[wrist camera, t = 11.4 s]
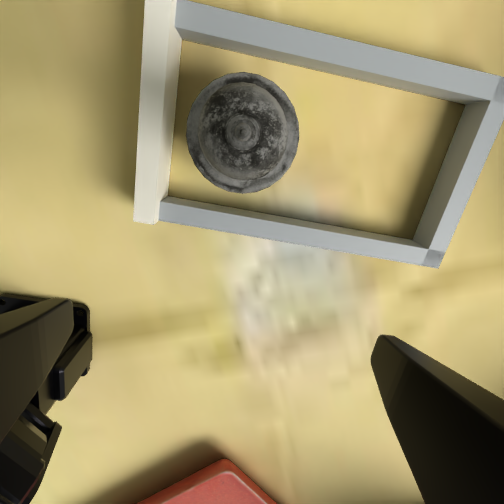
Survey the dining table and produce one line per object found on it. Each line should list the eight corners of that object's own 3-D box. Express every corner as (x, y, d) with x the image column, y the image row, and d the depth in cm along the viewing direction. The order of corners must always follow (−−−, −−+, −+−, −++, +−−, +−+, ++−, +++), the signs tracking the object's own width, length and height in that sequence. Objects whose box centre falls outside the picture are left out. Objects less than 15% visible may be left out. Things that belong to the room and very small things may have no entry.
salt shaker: (226, 200, 20) (206, 275, 9) (177, 117, 18) (73, 78, 7) (304, 156, 19) (390, 178, 8) (262, 64, 17) (297, -75, 6)
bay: (148, 210, 20) (133, 221, 17) (162, 8, 16) (145, -19, 14) (421, 257, 22) (447, 274, 19) (491, 87, 18) (537, 77, 15)
